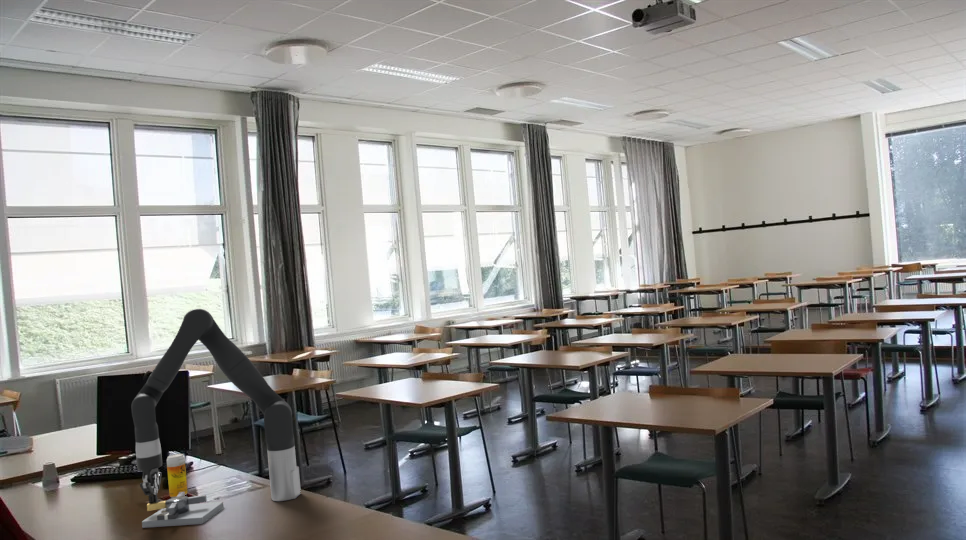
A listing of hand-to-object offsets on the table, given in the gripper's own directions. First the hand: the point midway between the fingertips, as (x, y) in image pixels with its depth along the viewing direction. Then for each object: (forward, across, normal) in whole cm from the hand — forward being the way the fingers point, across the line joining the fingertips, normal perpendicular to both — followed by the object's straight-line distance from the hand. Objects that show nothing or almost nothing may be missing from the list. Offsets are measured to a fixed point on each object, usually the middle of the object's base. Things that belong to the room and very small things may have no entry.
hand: (153, 505), depth 227 cm
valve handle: (+3, -1, -8) cm, 9 cm away
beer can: (+5, +25, +1) cm, 25 cm away
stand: (+5, -2, -10) cm, 11 cm away
